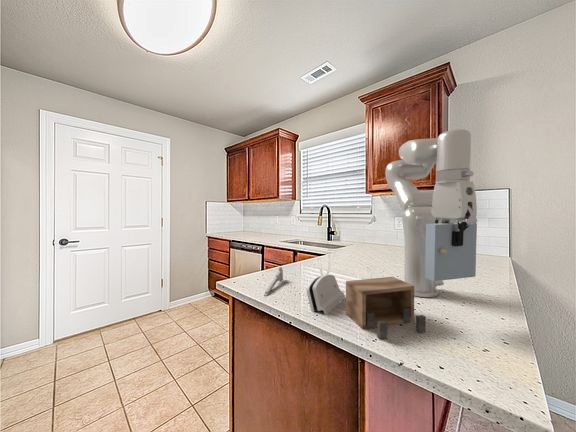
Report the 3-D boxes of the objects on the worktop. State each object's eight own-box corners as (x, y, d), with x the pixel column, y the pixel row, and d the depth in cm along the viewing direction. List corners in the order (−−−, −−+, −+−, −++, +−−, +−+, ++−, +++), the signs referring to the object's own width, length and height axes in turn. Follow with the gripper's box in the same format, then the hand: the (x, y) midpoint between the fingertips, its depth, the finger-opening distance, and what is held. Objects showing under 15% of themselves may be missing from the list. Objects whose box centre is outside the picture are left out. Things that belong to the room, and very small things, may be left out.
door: (425, 277, 66) (426, 223, 65) (465, 273, 69) (466, 222, 69) (438, 282, 62) (439, 225, 61) (479, 277, 65) (481, 223, 65)
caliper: (280, 280, 106) (280, 266, 106) (283, 280, 106) (282, 266, 105) (263, 296, 86) (263, 279, 86) (266, 297, 86) (266, 279, 86)
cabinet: (345, 314, 71) (345, 281, 71) (392, 308, 75) (392, 276, 74) (374, 340, 57) (374, 299, 57) (430, 331, 61) (430, 292, 60)
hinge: (325, 315, 70) (315, 281, 72) (312, 316, 73) (302, 284, 74) (345, 297, 84) (336, 269, 86) (333, 299, 87) (325, 272, 88)
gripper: (495, 174, 58) (493, 249, 59) (438, 180, 74) (437, 239, 75) (471, 173, 56) (469, 251, 57) (417, 180, 72) (416, 241, 73)
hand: (451, 244), depth 66 cm, fingers closed on door, 3 cm apart
